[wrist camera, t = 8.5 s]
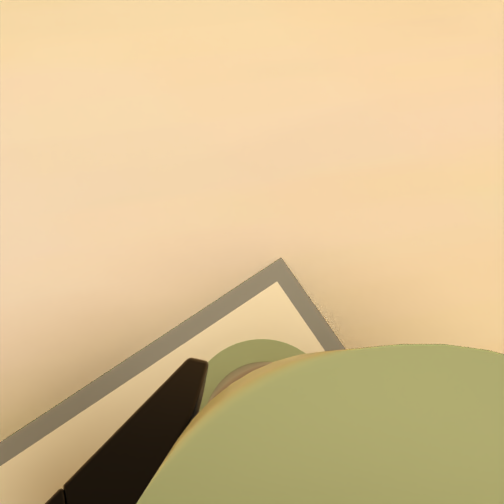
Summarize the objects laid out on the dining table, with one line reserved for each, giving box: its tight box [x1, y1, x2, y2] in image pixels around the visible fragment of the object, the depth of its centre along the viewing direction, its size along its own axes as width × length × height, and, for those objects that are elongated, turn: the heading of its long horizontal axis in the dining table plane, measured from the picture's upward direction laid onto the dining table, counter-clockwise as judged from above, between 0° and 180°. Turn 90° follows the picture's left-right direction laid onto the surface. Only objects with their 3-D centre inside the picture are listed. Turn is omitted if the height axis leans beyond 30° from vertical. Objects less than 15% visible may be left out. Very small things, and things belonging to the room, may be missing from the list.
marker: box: [136, 344, 504, 504], centre depth 9 cm, size 4×4×13 cm
